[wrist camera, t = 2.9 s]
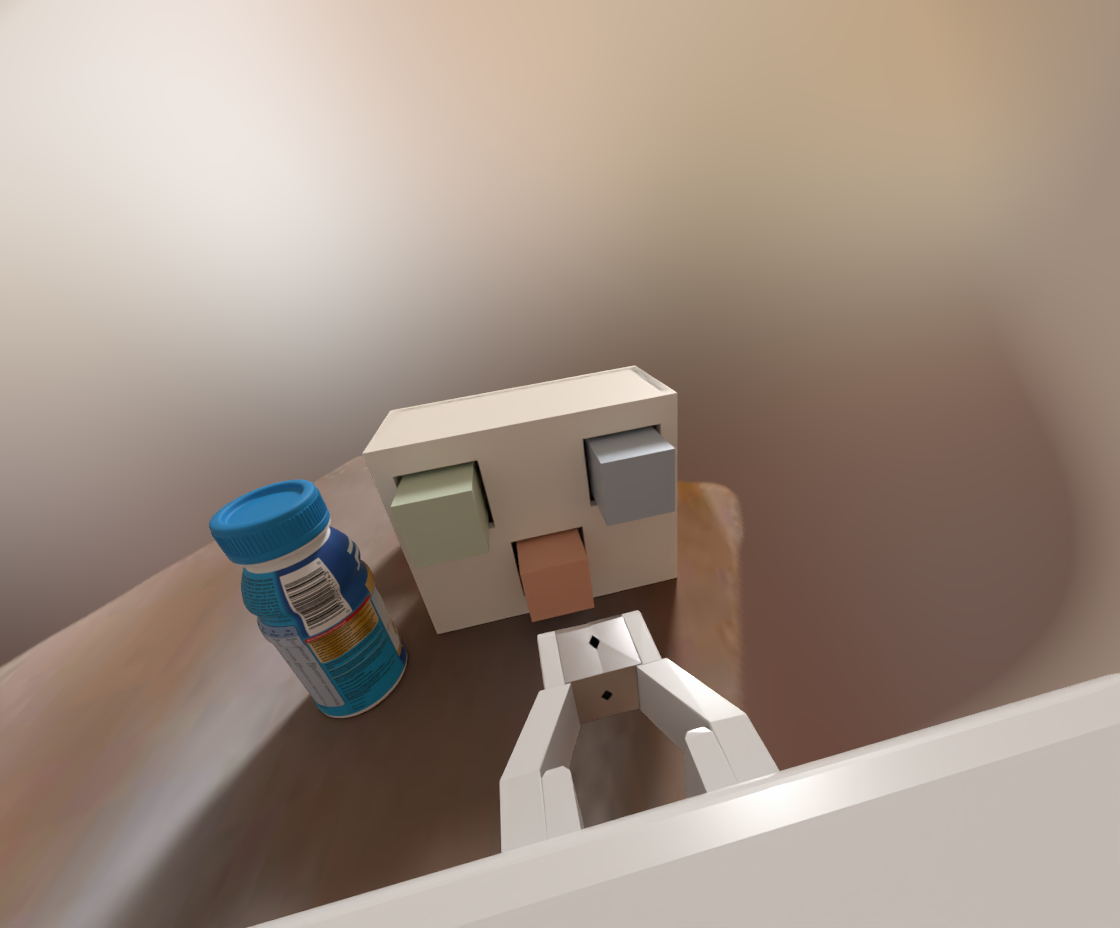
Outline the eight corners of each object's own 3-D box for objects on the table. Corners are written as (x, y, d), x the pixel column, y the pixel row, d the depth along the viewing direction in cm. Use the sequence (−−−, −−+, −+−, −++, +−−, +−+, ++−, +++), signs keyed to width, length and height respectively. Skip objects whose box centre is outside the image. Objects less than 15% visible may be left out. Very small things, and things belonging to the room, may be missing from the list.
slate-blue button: (607, 526, 33) (601, 463, 30) (590, 490, 38) (583, 434, 36) (675, 511, 34) (675, 448, 31) (649, 478, 39) (646, 422, 36)
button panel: (437, 634, 41) (362, 453, 31) (446, 566, 50) (390, 410, 40) (676, 577, 43) (677, 392, 33) (642, 522, 52) (634, 365, 42)
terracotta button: (531, 622, 37) (520, 574, 34) (525, 577, 42) (515, 532, 39) (594, 607, 37) (587, 558, 34) (580, 564, 42) (574, 519, 40)
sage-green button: (415, 568, 32) (390, 507, 29) (425, 525, 37) (404, 470, 34) (489, 552, 32) (471, 490, 29) (488, 512, 38) (473, 456, 35)
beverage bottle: (297, 729, 34) (154, 547, 25) (342, 643, 41) (245, 480, 32) (393, 717, 34) (286, 529, 24) (421, 633, 41) (346, 465, 32)
